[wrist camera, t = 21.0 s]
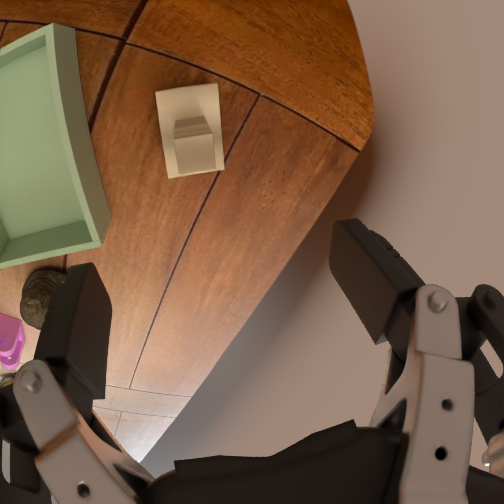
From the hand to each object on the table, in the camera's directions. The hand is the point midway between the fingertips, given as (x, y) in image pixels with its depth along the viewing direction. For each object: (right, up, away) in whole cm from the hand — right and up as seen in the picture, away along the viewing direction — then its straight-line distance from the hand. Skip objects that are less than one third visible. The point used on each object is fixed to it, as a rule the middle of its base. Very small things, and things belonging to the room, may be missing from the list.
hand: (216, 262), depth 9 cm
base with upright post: (-5, +13, +17) cm, 22 cm away
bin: (-23, +11, +13) cm, 28 cm away
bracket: (-43, -11, +25) cm, 51 cm away
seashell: (-27, -6, +25) cm, 37 cm away
